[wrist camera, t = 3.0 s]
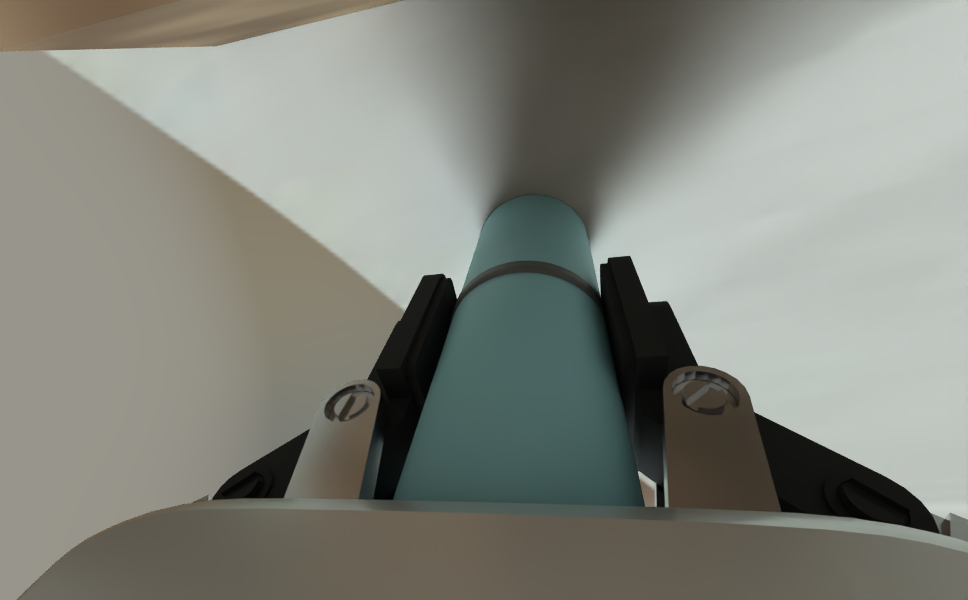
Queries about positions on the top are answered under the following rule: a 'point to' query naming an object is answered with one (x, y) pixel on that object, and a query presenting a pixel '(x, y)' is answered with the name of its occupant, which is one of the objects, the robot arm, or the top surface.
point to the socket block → (156, 21)
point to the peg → (526, 376)
